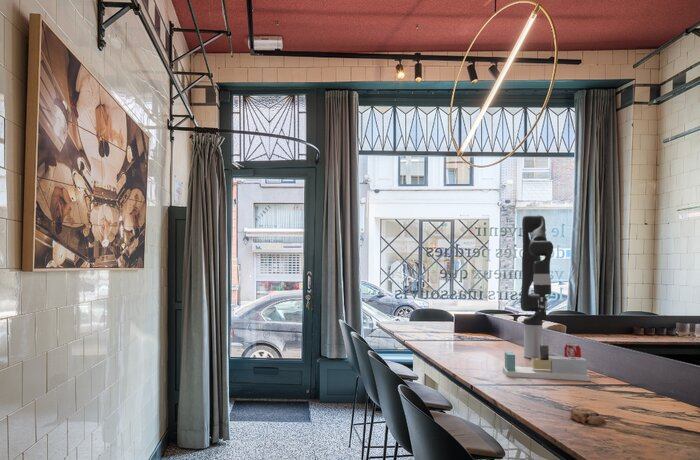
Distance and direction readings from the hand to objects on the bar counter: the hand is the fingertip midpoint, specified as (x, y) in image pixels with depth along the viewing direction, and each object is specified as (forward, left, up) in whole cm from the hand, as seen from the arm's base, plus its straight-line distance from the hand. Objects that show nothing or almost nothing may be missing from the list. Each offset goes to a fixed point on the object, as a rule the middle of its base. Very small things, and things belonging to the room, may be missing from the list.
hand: (543, 319), depth 215 cm
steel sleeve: (+6, +8, -22) cm, 24 cm away
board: (+6, -1, -24) cm, 25 cm away
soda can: (-8, +14, -24) cm, 29 cm away
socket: (+6, -16, -22) cm, 28 cm away
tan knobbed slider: (+6, +4, -21) cm, 22 cm away
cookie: (+66, -2, -24) cm, 70 cm away
